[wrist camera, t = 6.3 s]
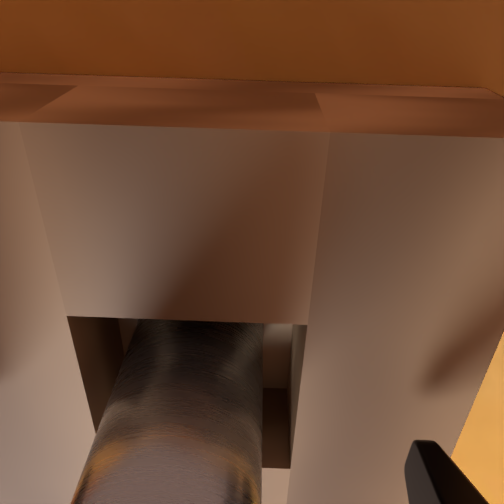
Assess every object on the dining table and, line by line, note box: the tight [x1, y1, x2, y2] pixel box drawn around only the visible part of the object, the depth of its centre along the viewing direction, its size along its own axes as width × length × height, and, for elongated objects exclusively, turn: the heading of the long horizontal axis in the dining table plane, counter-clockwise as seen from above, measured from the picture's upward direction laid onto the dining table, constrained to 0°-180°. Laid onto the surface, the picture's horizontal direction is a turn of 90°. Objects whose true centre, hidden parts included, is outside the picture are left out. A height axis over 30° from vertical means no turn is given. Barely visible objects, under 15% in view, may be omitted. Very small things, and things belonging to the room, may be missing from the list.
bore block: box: [0, 72, 504, 504], centre depth 11 cm, size 12×12×4 cm
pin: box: [71, 319, 263, 504], centre depth 9 cm, size 3×3×8 cm
